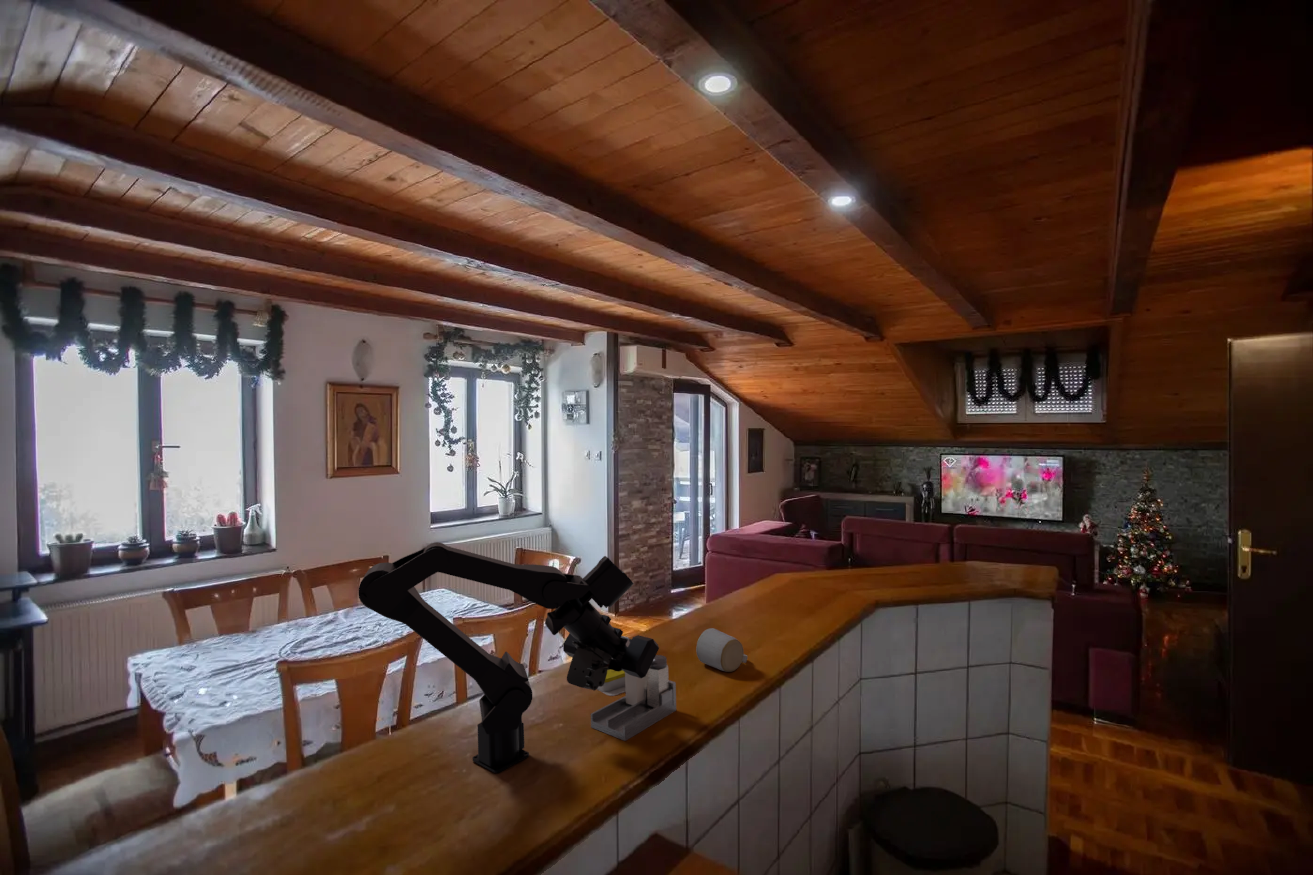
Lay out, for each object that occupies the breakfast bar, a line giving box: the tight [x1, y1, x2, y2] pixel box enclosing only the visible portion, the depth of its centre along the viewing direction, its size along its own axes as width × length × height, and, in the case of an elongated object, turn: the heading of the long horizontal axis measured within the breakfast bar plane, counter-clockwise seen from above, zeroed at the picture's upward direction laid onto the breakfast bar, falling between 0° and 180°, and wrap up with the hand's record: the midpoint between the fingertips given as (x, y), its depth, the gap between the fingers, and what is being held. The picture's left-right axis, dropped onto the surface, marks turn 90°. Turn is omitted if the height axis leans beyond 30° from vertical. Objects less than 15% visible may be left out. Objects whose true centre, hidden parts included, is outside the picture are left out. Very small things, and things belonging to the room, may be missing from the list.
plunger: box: [625, 672, 647, 705], centre depth 113 cm, size 3×3×8 cm
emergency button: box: [596, 664, 626, 697], centre depth 128 cm, size 9×4×15 cm
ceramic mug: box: [695, 627, 748, 673], centre depth 134 cm, size 11×8×8 cm
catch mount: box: [590, 654, 677, 742], centre depth 110 cm, size 14×8×10 cm, turn 141°
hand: (632, 671), depth 111 cm, fingers closed
